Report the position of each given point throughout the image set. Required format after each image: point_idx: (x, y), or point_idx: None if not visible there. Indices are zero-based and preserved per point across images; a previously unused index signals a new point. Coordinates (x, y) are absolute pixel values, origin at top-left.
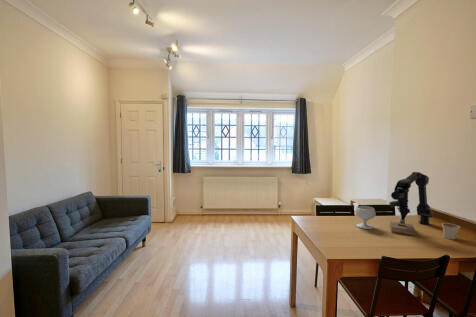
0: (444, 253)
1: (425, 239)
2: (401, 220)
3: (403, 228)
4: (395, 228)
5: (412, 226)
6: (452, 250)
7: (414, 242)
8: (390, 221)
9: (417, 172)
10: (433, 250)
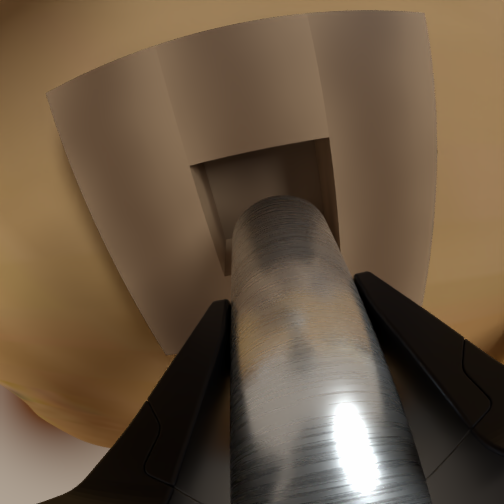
0: (20, 393)
1: (144, 358)
2: (233, 271)
3: (113, 249)
4: (71, 142)
5: None
6: (87, 421)
7: (12, 303)
8: (423, 21)
9: None
10: (6, 368)
